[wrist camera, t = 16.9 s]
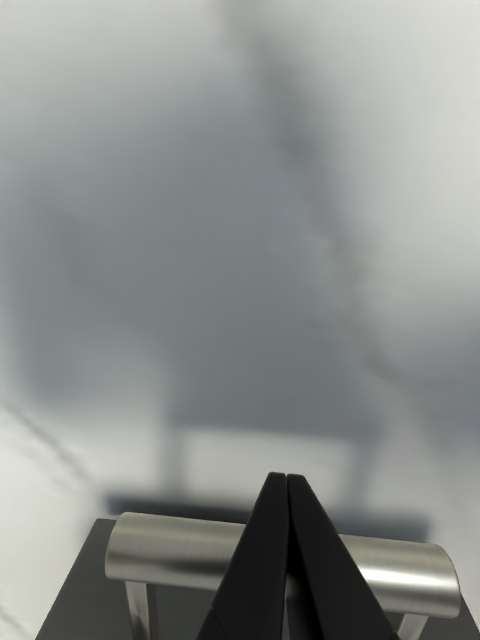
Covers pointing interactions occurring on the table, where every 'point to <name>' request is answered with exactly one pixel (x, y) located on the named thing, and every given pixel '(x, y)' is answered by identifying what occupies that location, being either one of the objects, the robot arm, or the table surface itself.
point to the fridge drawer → (206, 575)
